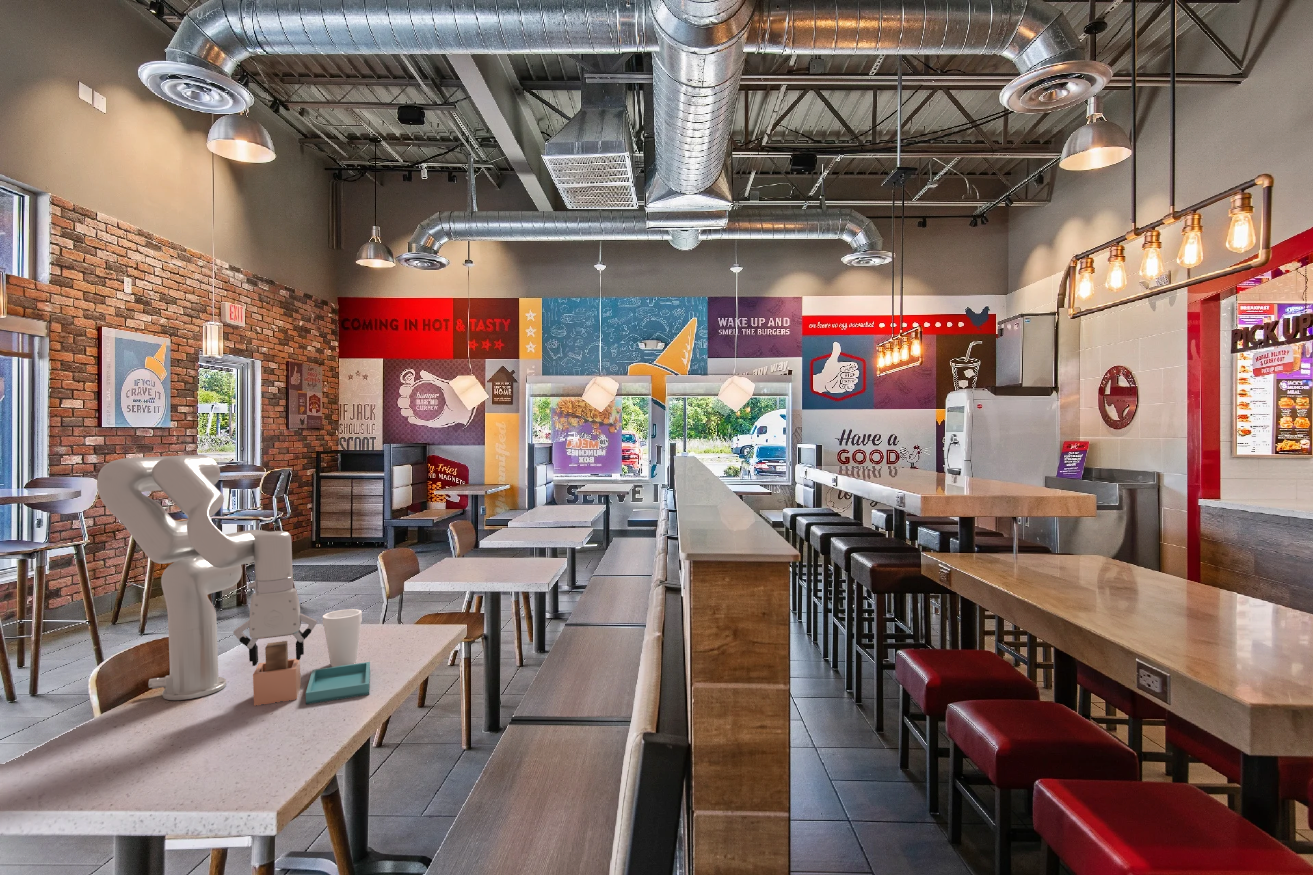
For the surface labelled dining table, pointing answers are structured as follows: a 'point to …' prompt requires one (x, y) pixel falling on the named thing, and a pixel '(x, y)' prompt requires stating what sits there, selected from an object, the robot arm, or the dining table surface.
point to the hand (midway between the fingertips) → (277, 660)
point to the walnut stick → (276, 656)
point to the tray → (338, 682)
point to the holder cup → (276, 683)
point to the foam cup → (342, 635)
